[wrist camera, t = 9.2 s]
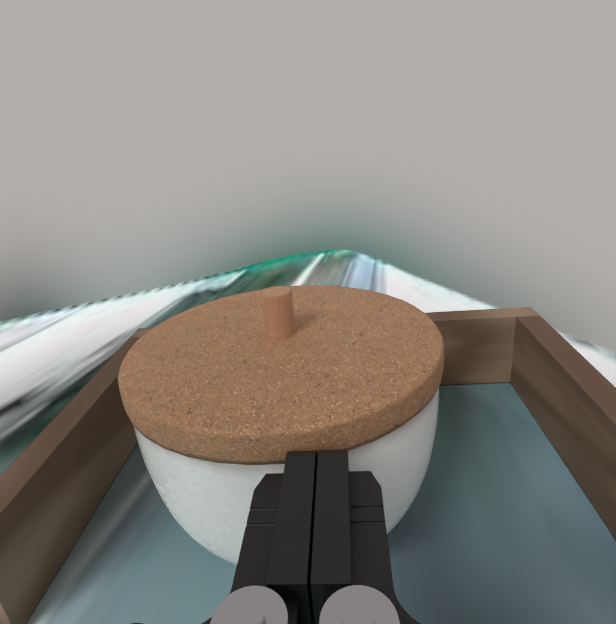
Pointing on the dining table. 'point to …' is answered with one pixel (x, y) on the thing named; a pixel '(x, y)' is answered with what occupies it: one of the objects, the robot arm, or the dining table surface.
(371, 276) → the dining table surface
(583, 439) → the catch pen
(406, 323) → the lidded jar
